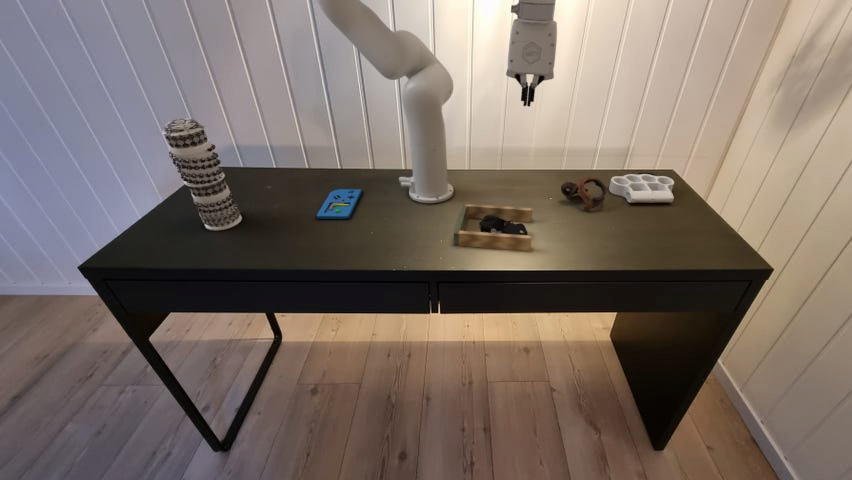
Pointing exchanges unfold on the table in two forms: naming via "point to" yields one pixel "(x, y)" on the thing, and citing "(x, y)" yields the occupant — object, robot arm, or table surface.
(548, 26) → the robot arm
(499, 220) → the toy car
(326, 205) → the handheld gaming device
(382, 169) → the table surface
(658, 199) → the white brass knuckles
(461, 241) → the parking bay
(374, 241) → the table surface
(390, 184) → the table surface
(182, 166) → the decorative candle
